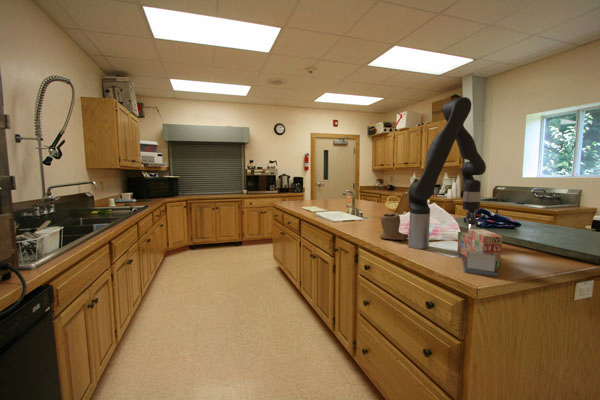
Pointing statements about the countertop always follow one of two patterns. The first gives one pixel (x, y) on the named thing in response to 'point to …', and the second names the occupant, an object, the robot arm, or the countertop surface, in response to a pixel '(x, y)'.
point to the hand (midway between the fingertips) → (469, 233)
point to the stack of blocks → (480, 243)
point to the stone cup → (391, 227)
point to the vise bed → (464, 260)
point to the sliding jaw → (472, 223)
